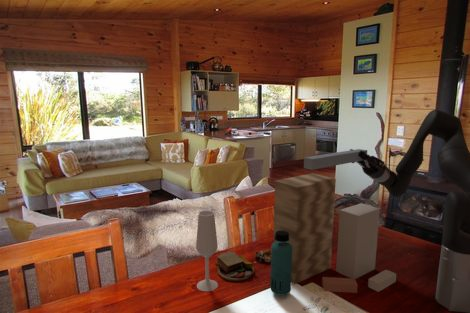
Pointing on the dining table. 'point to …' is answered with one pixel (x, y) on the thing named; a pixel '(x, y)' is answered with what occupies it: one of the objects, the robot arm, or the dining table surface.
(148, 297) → the dining table surface
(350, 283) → the brown rectangular block
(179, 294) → the dining table surface
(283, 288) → the beverage bottle
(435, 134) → the robot arm
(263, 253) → the pastry
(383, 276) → the beige rectangular block
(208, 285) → the champagne flute
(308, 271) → the oak stand
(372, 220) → the cream stand
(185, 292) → the dining table surface
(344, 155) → the gray bar
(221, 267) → the toy sandwich meal
